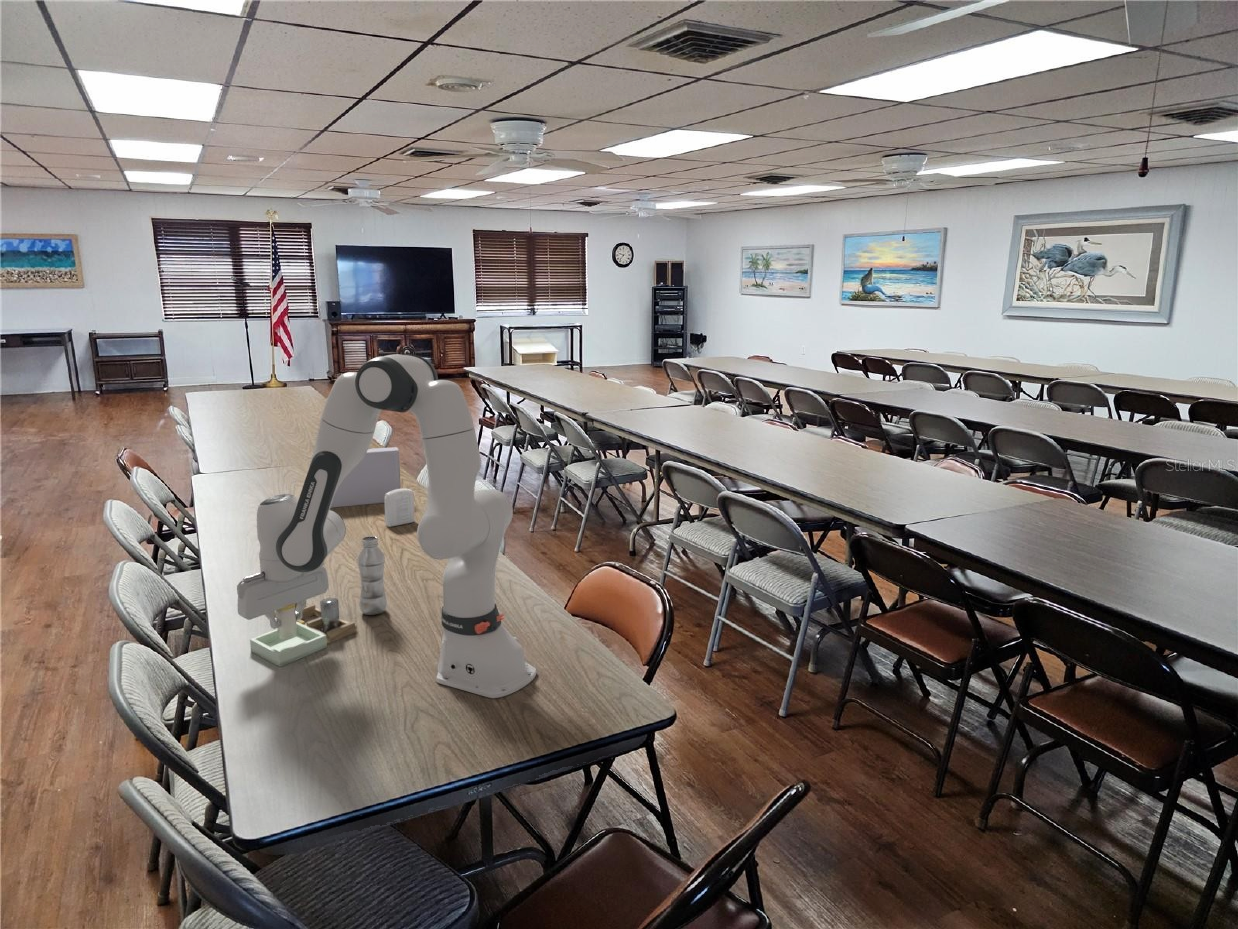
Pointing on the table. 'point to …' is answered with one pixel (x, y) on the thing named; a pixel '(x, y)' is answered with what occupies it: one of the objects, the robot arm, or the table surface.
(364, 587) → the plastic bottle
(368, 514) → the table surface
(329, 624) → the canister
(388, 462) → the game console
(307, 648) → the tray
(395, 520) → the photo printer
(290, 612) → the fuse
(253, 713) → the table surface
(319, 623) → the rack
